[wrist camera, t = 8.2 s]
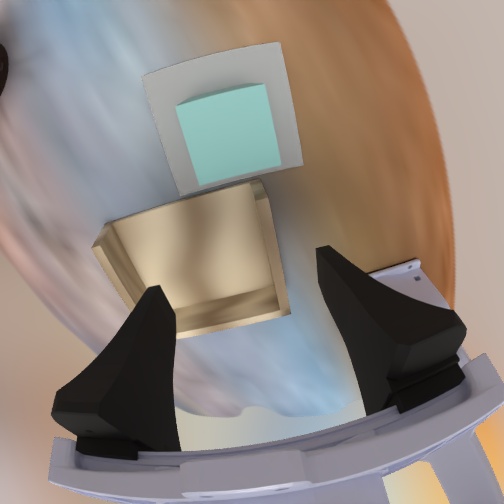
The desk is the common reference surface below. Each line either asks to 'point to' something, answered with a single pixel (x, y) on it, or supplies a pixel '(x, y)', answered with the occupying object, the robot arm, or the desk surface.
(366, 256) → the desk surface
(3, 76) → the coffee mug
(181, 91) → the pad
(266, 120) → the block
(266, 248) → the tan shallow tray
